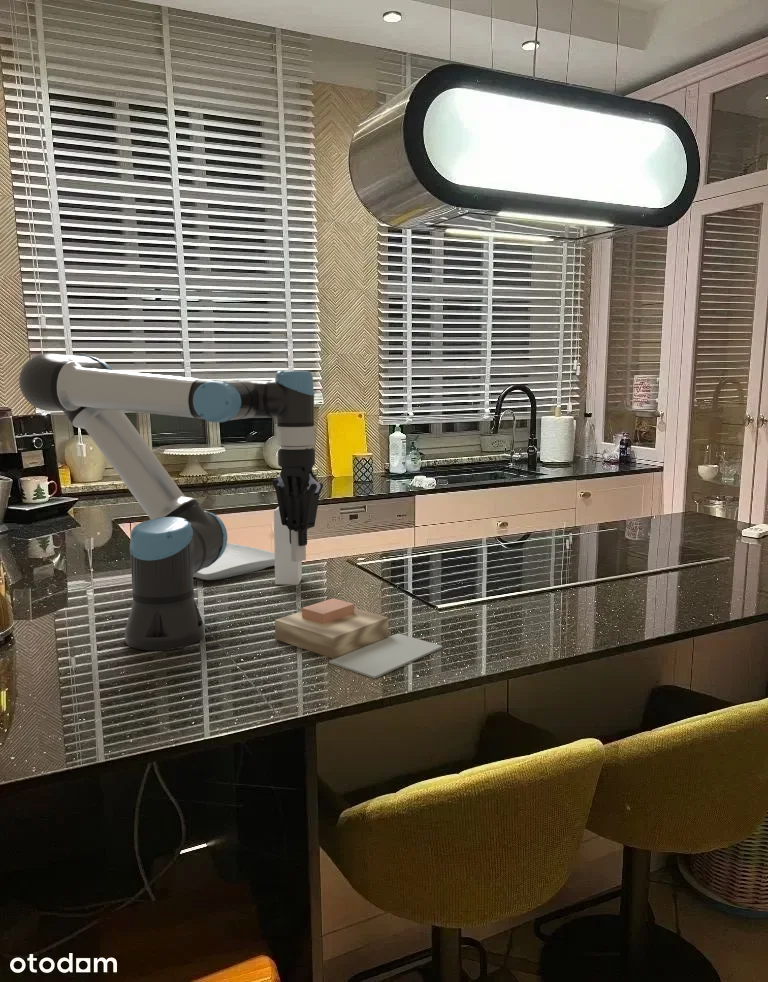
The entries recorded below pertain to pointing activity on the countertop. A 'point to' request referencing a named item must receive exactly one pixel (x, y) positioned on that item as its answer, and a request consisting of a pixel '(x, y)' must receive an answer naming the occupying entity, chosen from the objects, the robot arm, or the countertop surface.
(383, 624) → the board
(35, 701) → the countertop surface
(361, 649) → the mat
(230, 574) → the square plate
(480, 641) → the countertop surface
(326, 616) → the pink block
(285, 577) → the milk
